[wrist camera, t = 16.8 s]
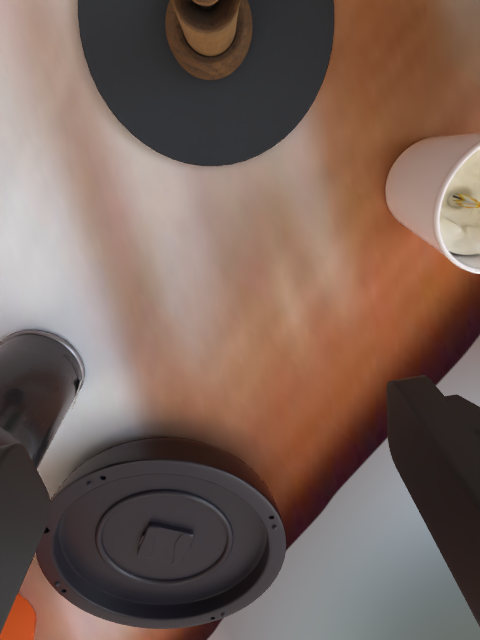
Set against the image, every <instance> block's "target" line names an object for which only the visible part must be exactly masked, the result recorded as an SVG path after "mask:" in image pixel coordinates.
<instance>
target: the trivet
mask: <svg viewBox="0 0 480 640" xmlns="http://www.w3.org/2000/svg"><path fill="white" fill-rule="evenodd" d="M169 1H170V0H78V19H79V28H80V37H81V41H82V46H83V50H84V55H85V58H86V61H87V64H88V67H89V70H90V73H91V75H92V77H93V80H94V82H95V84H96V86H97V88H98V90H99V92H100V94H101V96H102V97H103V99H104V100H105V102H106V104H107V105H108V107H109V108H110V110H111V111H112V112H113V114H114V115H115V116H116V117H117V119H118V120H119V121H120V122H121V123H122V124H123V125H124V126H125V127H126V128H127V129H128V131H129V132H130V133H131V134H133V135H134V136H135V137H136V138H138V139H139V140H140V141H141V142H143V143H144V144H145V145H147V146H149V147H150V148H152V149H153V150H155V151H157V152H158V153H160V154H163V155H165V156H167V157H169V158H171V159H174V160H178V161H181V162H184V163H188V164H194V165H200V166H221V165H230V164H234V163H238V162H242V161H246V160H248V159H250V158H253V157H255V156H258V155H260V154H262V153H263V152H265V151H267V150H268V149H270V148H272V147H273V146H275V145H276V144H277V143H278V142H280V141H281V140H282V139H284V138H285V137H286V136H287V135H288V134H289V133H290V132H291V131H292V130H293V129H294V128H295V127H296V126H297V124H298V123H299V122H300V121H301V119H302V118H303V117H304V115H305V114H306V113H307V111H308V110H309V108H310V106H311V105H312V103H313V101H314V100H315V98H316V96H317V93H318V91H319V89H320V87H321V85H322V82H323V79H324V76H325V73H326V70H327V67H328V64H329V59H330V54H331V50H332V43H333V33H334V3H333V0H247V1H248V4H249V7H250V10H251V15H252V37H251V42H250V46H249V49H248V52H247V54H246V56H245V58H244V60H243V62H242V63H241V65H240V66H239V67H238V68H237V69H236V70H235V71H234V72H233V73H231V74H230V75H228V76H226V77H224V78H221V79H217V80H203V79H199V78H197V77H194V76H193V75H191V74H189V73H188V72H187V71H186V70H185V69H183V67H182V66H181V65H180V64H179V63H178V61H177V60H176V58H175V56H174V54H173V53H172V51H171V48H170V46H169V43H168V40H167V35H166V27H165V20H166V12H167V7H168V4H169Z"/></svg>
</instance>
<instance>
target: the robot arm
mask: <svg viewBox="0 0 480 640" xmlns="http://www.w3.org/2000/svg"><path fill="white" fill-rule="evenodd" d="M84 377H85V369H84V365H83V361H82V359H81V357H80V355H79V354H78V352H77V351H76V350H75V349H74V347H73V346H72V345H70V344H69V343H68V342H67V341H65V340H64V339H62V338H61V337H59V336H57V335H55V334H52V333H49V332H45V331H40V330H25V331H20V332H17V333H14V334H12V335H10V336H8V337H7V338H6V339H4V340H3V341H2V342H1V343H0V634H1V632H2V629H3V627H4V624H5V622H6V620H7V617H8V615H9V613H10V610H11V608H12V606H13V603H14V601H15V599H16V596H17V594H18V592H19V589H20V587H21V585H22V582H23V580H24V578H25V575H26V573H27V571H28V568H29V566H30V564H31V561H32V559H33V557H34V554H35V552H36V549H37V547H38V545H39V542H40V540H41V538H42V535H43V533H44V531H45V528H46V526H47V524H48V521H49V517H50V498H49V494H48V492H47V489H46V487H45V485H44V483H43V481H42V479H41V477H40V475H39V473H38V471H37V468H38V467H39V465H40V463H41V461H42V459H43V457H44V455H45V453H46V451H47V449H48V448H49V446H50V444H51V442H52V440H53V438H54V436H55V434H56V432H57V430H58V428H59V427H60V425H61V423H62V421H63V419H64V417H65V415H66V413H67V411H68V409H69V408H70V406H71V404H72V402H73V400H74V398H75V396H76V398H75V401H74V404H73V407H74V405H75V402H76V399H77V396H78V393H79V390H80V389H81V387H82V385H83V382H84ZM72 409H73V408H72ZM387 427H388V442H389V448H390V452H391V455H392V459H393V461H394V464H395V466H396V468H397V470H398V472H399V474H400V476H401V478H402V480H403V482H404V483H405V485H406V487H407V489H408V491H409V493H410V495H411V497H412V499H413V501H414V502H415V504H416V506H417V508H418V510H419V512H420V514H421V516H422V518H423V519H424V521H425V523H426V525H427V527H428V529H429V531H430V533H431V535H432V537H433V539H434V540H435V542H436V544H437V546H438V548H439V550H440V552H441V554H442V556H443V558H444V560H445V562H446V563H447V565H448V567H449V569H450V571H451V573H452V575H453V577H454V579H455V581H456V582H457V584H458V586H459V588H460V590H461V592H462V594H463V596H464V597H465V600H466V601H467V603H468V605H469V607H470V609H471V611H472V613H473V615H474V617H475V619H476V620H477V622H478V624H479V626H480V407H479V406H477V405H475V404H473V403H471V402H470V401H468V400H466V399H464V398H462V397H461V396H459V395H451V396H444V395H443V394H442V393H441V392H440V390H439V389H438V388H437V387H436V386H435V385H434V383H433V382H432V381H431V380H430V379H429V378H428V377H427V376H425V375H421V376H415V377H410V378H404V379H398V380H392V381H389V382H388V383H387Z"/></svg>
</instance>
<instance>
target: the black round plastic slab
mask: <svg viewBox="0 0 480 640" xmlns="http://www.w3.org/2000/svg"><path fill="white" fill-rule="evenodd" d="M285 553H286V536H285V530H284V526H283V522H282V519H281V516H280V513H279V511H278V508H277V506H276V503H275V501H274V499H273V497H272V495H271V493H270V492H269V490H268V488H267V487H266V486H265V484H264V483H263V481H262V480H261V479H260V478H259V476H258V475H257V474H256V473H255V472H254V471H253V470H252V469H251V468H249V467H248V466H247V465H246V464H245V463H243V462H242V461H240V460H239V459H237V458H236V457H234V456H232V455H230V454H229V453H227V452H225V451H223V450H221V449H218V448H216V447H213V446H210V445H207V444H204V443H201V442H196V441H192V440H186V439H178V438H152V439H143V440H137V441H132V442H128V443H125V444H121V445H118V446H115V447H113V448H110V449H108V450H105V451H103V452H101V453H99V454H97V455H95V456H94V457H92V458H90V459H89V460H88V461H86V462H85V463H83V464H82V465H81V466H80V467H78V468H77V469H76V470H75V471H74V472H73V473H72V474H71V475H70V476H69V477H68V478H67V479H66V480H65V481H64V482H63V484H62V485H61V486H60V487H59V488H58V490H57V491H56V493H55V494H54V495H53V497H52V498H51V500H50V517H49V521H48V524H47V526H46V528H45V531H44V533H43V535H42V538H41V540H40V542H39V545H38V547H37V549H36V556H37V560H38V563H39V565H40V568H41V570H42V572H43V574H44V575H45V577H46V578H47V580H48V581H49V583H50V584H51V585H52V586H53V587H54V588H55V589H56V591H57V592H59V593H60V594H61V595H62V596H63V597H64V598H65V599H67V600H68V601H69V602H71V603H72V604H74V605H75V606H77V607H79V608H80V609H82V610H84V611H86V612H88V613H90V614H92V615H94V616H97V617H99V618H102V619H105V620H108V621H111V622H115V623H118V624H123V625H128V626H133V627H141V628H153V629H171V628H183V627H190V626H196V625H201V624H205V623H209V622H212V621H216V620H218V619H221V618H224V617H226V616H229V615H231V614H233V613H235V612H237V611H239V610H241V609H243V608H244V607H246V606H248V605H249V604H251V603H252V602H253V601H255V600H256V599H257V598H258V597H260V596H261V595H262V594H263V593H264V592H265V591H266V590H267V589H268V588H269V587H270V585H271V584H272V582H273V581H274V580H275V579H276V577H277V575H278V573H279V571H280V569H281V567H282V564H283V561H284V558H285Z"/></svg>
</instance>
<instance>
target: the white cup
mask: <svg viewBox="0 0 480 640" xmlns="http://www.w3.org/2000/svg"><path fill="white" fill-rule="evenodd" d="M385 195H386V202H387V205H388V208H389V210H390V212H391V213H392V215H393V216H394V218H395V219H396V220H397V221H398V222H400V223H401V224H402V225H403V226H405V227H406V228H407V229H409V230H410V231H411V232H413V233H414V234H415V235H417V236H418V237H420V238H421V239H422V240H424V241H425V242H427V243H428V244H429V245H431V246H432V247H433V248H435V249H436V250H438V251H439V252H440V253H442V254H443V255H445V256H446V257H447V258H448V259H449V260H450V261H451V262H452V263H454V264H455V265H457V266H458V267H460V268H462V269H464V270H466V271H469V272H473V273H477V274H480V133H468V134H456V135H445V136H436V137H430V138H426V139H423V140H421V141H418V142H416V143H414V144H413V145H411V146H410V147H408V148H407V149H406V150H405V151H404V152H403V153H402V154H401V155H400V156H399V157H398V158H397V160H396V161H395V162H394V164H393V166H392V167H391V170H390V172H389V174H388V177H387V181H386V188H385Z"/></svg>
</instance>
